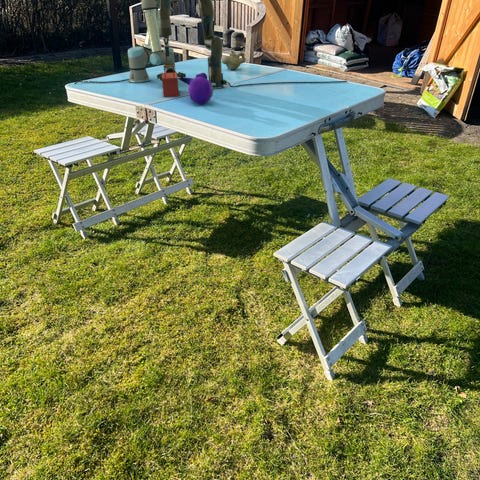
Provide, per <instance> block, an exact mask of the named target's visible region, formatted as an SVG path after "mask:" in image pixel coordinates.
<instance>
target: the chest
mask: <svg viewBox="0 0 480 480" xmlns="http://www.w3.org/2000/svg"><path fill="white" fill-rule="evenodd" d="M161 83H162V91H163V93H162V94H163V98H174V97H180V91H179V79H169V80H162V81H161Z"/></svg>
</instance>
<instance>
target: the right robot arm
mask: <svg viewBox="0 0 480 480" xmlns="http://www.w3.org/2000/svg"><path fill="white" fill-rule="evenodd" d="M155 1H156V2H158V3H160V8H159V9H158V24H159V36H160V37H163V38H162V43H163V47H164V48H165V52H166V57H167V56H169V48H170V38H169V37H171V36H173V33H172V23H171V14H170V10H171V9H170V8H171V0H155ZM197 5H198V10H199V15H200V20H201V26H202V32H203V43H204V47H205V48H206V50H208V51H210V55H209V56H207V77H208V80H209V81H210V83H211V84H212V88H213V90H218V89H219V90H220V89H223V88H224V86H226V85H227V84H228V85H229V87H230V88H238V87H243V86H244V87H245V86H257V85H275V84H330V83H333V84H335V83H337V84H338V83H348V80H333V81H278V82H276V81H275V82H257V83H246V84H245V83H243V84H238V85H231V83H230V82H228V81H227V80H226V79H225V78H224V73H223V70H222V59H223V40H222V38H221V37H220V36H218V35H214V30H213V23H214V19H215V18H214V17H215V9H214V3H213V0H197Z"/></svg>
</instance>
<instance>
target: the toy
mask: <svg viewBox="0 0 480 480" xmlns="http://www.w3.org/2000/svg"><path fill="white" fill-rule="evenodd" d="M178 81H181V82H182V83H184V84H186V85H188V96H189V98H190V100H191V101H192V102H193V103H195V104H198V105H205V104H207V103H208V102H209V101H210V100H211V99H212V97H213V94H214V89H213V88H212V84H211V83H210V81H209V79H208V74H206V73H205V72H201V73H197V74H196V75H195V77H193V78H192V77H186V78H180V77H178Z"/></svg>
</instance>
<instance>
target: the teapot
mask: <svg viewBox="0 0 480 480" xmlns="http://www.w3.org/2000/svg"><path fill="white" fill-rule="evenodd" d="M240 57H241V59H240ZM245 61H246V56H245V53H244V52H243V51H240V52H238V53H237V54H236V52H235V50H233V49H232V50H231V51H230V53H229V56H224V57H222V58H221V64H223V65H225V66H226V68H227V69H228V70H230V71H234V70H237V69H238V68H239V67H240V66H241V64H244V63H245Z"/></svg>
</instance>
